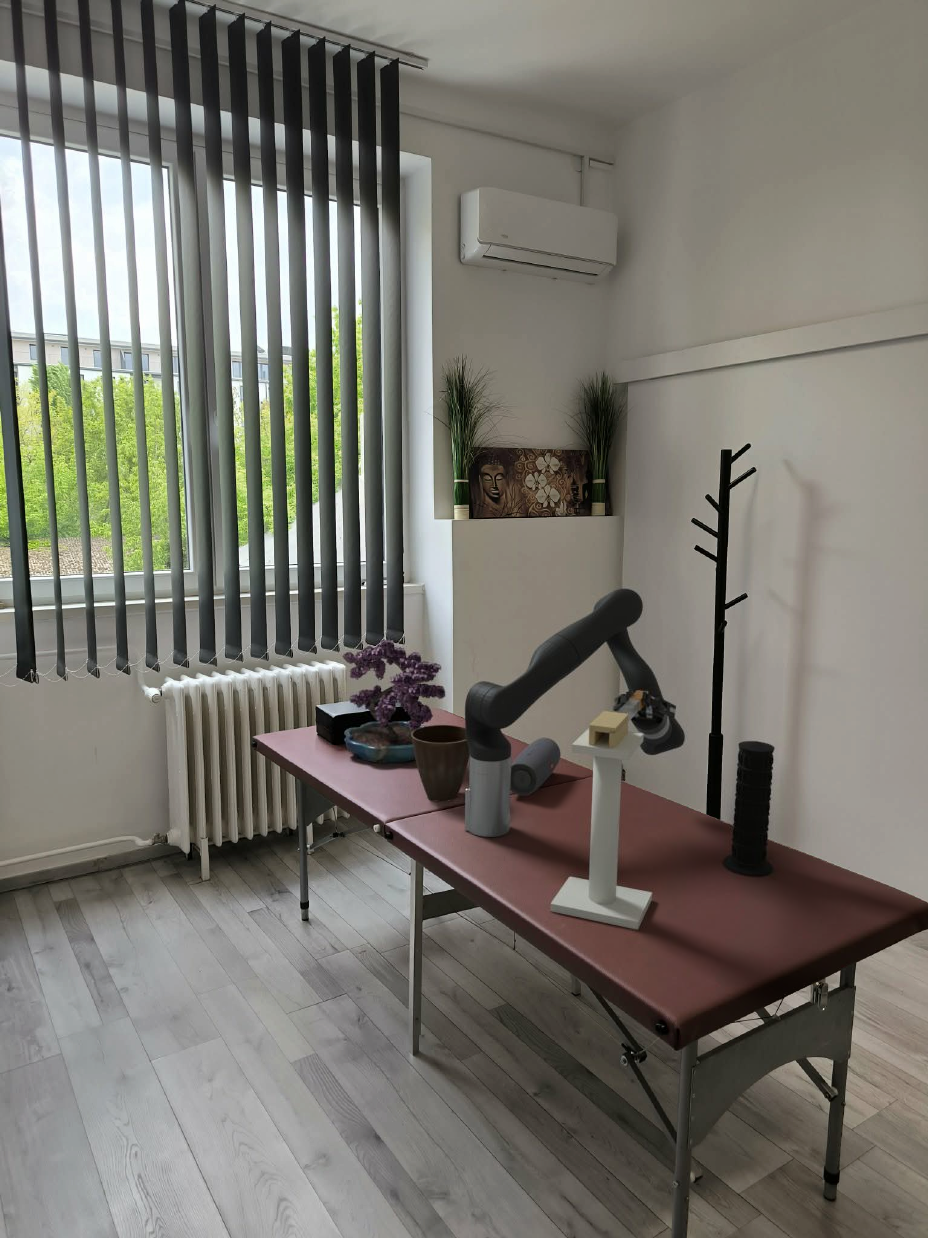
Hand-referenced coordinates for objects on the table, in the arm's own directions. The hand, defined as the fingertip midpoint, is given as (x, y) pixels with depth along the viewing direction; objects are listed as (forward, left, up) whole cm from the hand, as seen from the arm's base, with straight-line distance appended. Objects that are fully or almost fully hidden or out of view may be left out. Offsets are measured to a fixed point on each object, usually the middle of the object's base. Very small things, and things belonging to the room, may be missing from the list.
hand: (636, 695), depth 180 cm
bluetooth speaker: (-32, +33, -35) cm, 58 cm away
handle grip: (+23, +7, -35) cm, 42 cm away
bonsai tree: (-75, +39, -35) cm, 92 cm away
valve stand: (0, -22, -35) cm, 41 cm away
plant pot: (-50, +16, -35) cm, 63 cm away
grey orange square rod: (0, -7, -3) cm, 7 cm away
